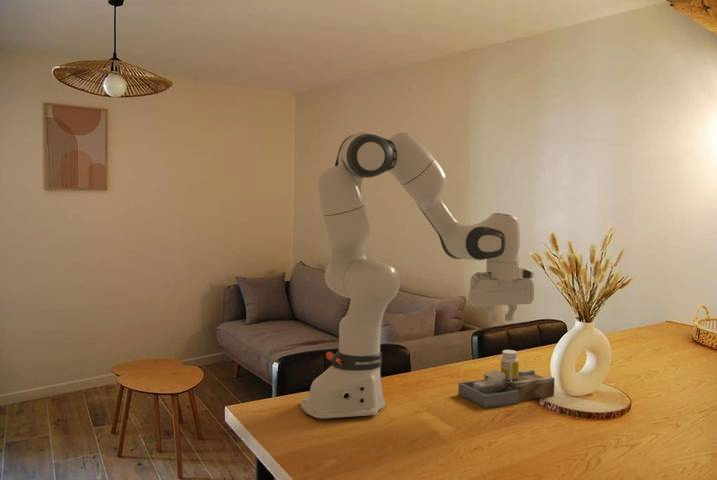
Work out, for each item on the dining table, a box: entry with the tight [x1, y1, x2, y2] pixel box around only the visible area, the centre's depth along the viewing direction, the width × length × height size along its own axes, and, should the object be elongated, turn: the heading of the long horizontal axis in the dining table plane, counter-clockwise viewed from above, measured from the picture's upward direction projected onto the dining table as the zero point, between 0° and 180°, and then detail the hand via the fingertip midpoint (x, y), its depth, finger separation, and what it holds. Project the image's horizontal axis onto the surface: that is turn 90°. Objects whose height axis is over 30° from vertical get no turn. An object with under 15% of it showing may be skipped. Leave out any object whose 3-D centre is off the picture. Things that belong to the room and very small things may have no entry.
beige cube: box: [473, 381, 494, 395], centre depth 147 cm, size 4×4×4 cm
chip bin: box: [457, 378, 520, 410], centre depth 148 cm, size 11×12×3 cm
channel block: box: [507, 369, 555, 402], centre depth 153 cm, size 14×9×5 cm, turn 115°
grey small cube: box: [483, 368, 507, 392], centre depth 149 cm, size 4×4×4 cm
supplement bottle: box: [500, 349, 520, 383], centre depth 151 cm, size 5×5×8 cm
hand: (500, 321), depth 151 cm, fingers open, 4 cm apart
